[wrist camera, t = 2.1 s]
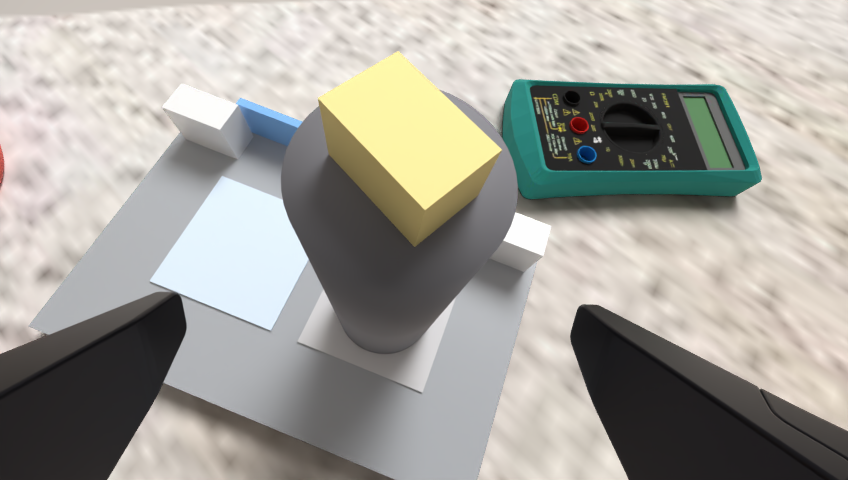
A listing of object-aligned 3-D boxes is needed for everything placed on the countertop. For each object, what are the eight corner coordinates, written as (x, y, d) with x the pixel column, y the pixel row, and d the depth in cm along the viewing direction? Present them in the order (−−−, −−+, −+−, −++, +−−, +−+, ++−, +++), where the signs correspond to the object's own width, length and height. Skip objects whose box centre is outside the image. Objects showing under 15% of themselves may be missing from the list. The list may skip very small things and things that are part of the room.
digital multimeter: (493, 103, 26) (507, 69, 23) (697, 107, 28) (733, 76, 25) (509, 204, 23) (527, 179, 20) (734, 201, 25) (778, 177, 22)
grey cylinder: (450, 310, 19) (605, 145, 6) (380, 375, 17) (396, 333, 5) (390, 243, 20) (420, -18, 7) (318, 301, 18) (194, 99, 6)
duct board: (536, 243, 22) (564, 217, 18) (463, 503, 17) (484, 530, 14) (209, 116, 22) (180, 69, 19) (46, 330, 17) (-29, 315, 14)
